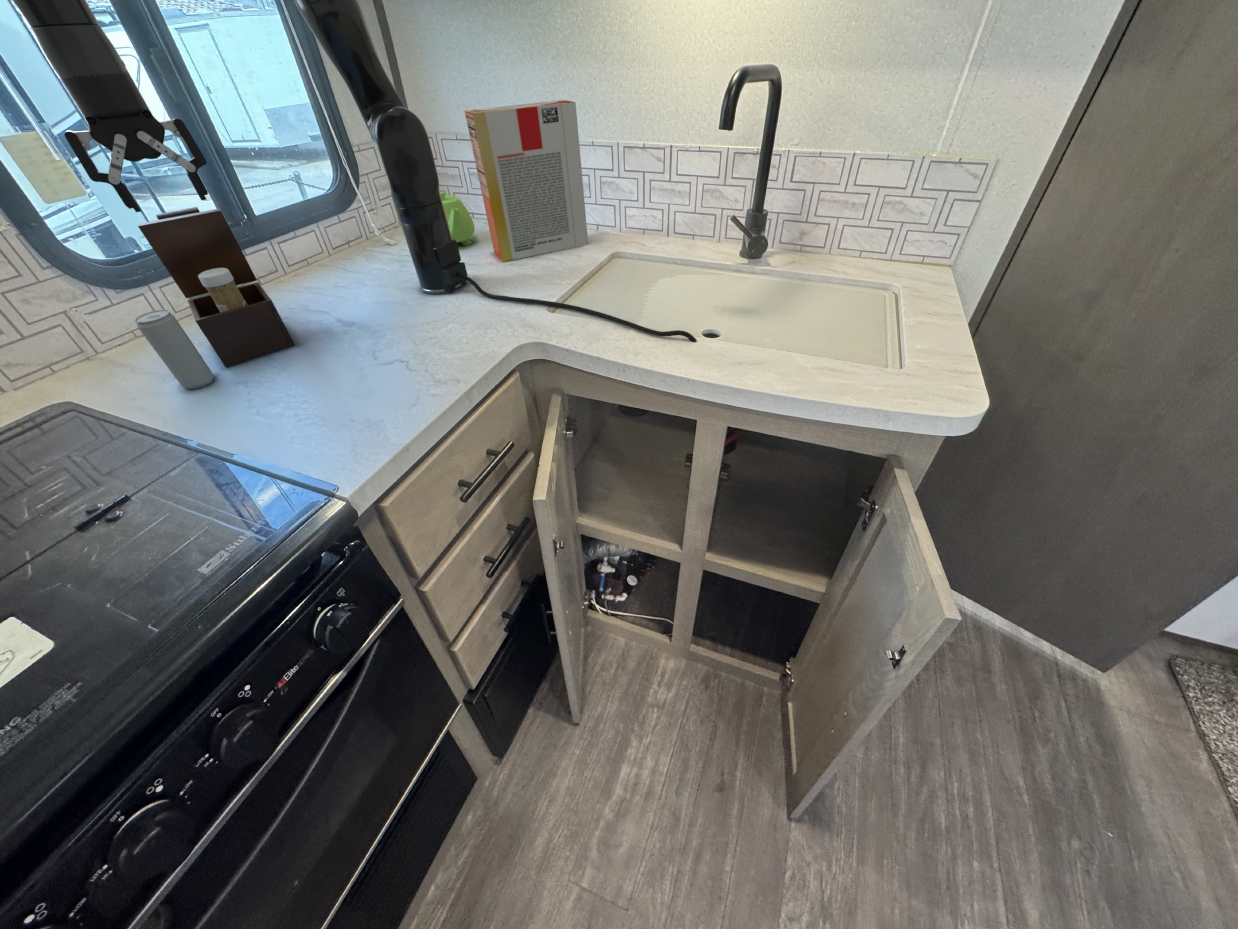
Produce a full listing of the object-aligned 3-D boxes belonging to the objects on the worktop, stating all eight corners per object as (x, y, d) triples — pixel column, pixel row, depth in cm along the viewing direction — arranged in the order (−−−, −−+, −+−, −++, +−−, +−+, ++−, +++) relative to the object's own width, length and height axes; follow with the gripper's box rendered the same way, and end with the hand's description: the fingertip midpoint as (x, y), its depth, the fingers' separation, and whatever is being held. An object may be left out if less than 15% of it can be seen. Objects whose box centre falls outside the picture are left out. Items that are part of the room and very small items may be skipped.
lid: (221, 210, 83) (211, 195, 86) (137, 226, 78) (129, 209, 80) (257, 280, 94) (247, 265, 96) (186, 298, 89) (177, 282, 91)
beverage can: (193, 376, 86) (146, 310, 78) (221, 374, 86) (177, 307, 78) (177, 391, 82) (125, 323, 74) (206, 389, 82) (158, 321, 74)
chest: (295, 345, 93) (271, 299, 87) (225, 367, 88) (195, 320, 82) (280, 324, 100) (257, 281, 95) (215, 344, 95) (187, 299, 89)
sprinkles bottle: (269, 344, 92) (228, 271, 83) (242, 352, 90) (196, 278, 81) (267, 336, 95) (227, 264, 86) (240, 343, 93) (196, 271, 84)
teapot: (489, 246, 132) (477, 194, 123) (439, 258, 127) (424, 204, 118) (463, 230, 145) (451, 181, 137) (418, 240, 140) (403, 190, 131)
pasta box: (576, 236, 134) (562, 99, 115) (588, 244, 129) (575, 101, 109) (494, 252, 127) (464, 110, 108) (502, 261, 122) (472, 113, 102)
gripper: (19, 77, 60) (116, 220, 71) (158, 66, 67) (227, 198, 78) (25, 77, 65) (115, 211, 76) (154, 67, 71) (220, 192, 82)
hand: (172, 204), depth 77 cm, fingers open, 8 cm apart
